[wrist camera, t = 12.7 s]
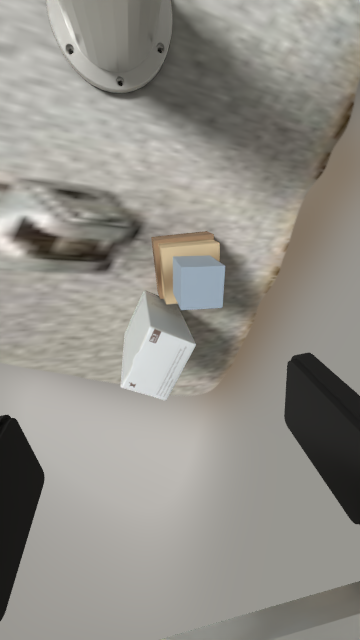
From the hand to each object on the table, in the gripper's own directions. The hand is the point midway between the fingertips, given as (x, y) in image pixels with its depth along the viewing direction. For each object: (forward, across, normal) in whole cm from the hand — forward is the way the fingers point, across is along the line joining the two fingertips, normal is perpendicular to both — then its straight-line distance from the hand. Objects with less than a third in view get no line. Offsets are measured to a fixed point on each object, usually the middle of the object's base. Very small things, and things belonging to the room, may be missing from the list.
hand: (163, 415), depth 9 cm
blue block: (+25, -6, +3) cm, 26 cm away
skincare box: (+33, 0, +11) cm, 34 cm away
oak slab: (+29, -6, +3) cm, 30 cm away
